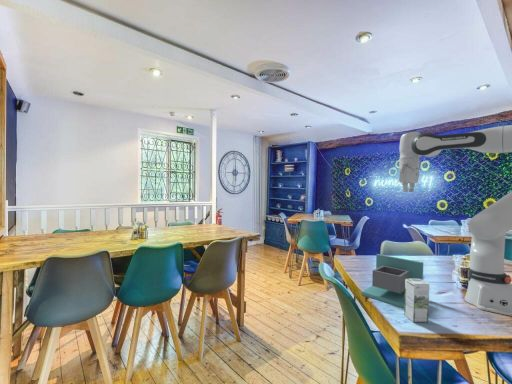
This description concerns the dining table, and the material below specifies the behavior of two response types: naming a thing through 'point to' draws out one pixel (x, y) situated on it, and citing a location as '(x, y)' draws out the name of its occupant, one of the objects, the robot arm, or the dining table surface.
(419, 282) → the syrup box
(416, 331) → the dining table surface
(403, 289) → the cup bracket
